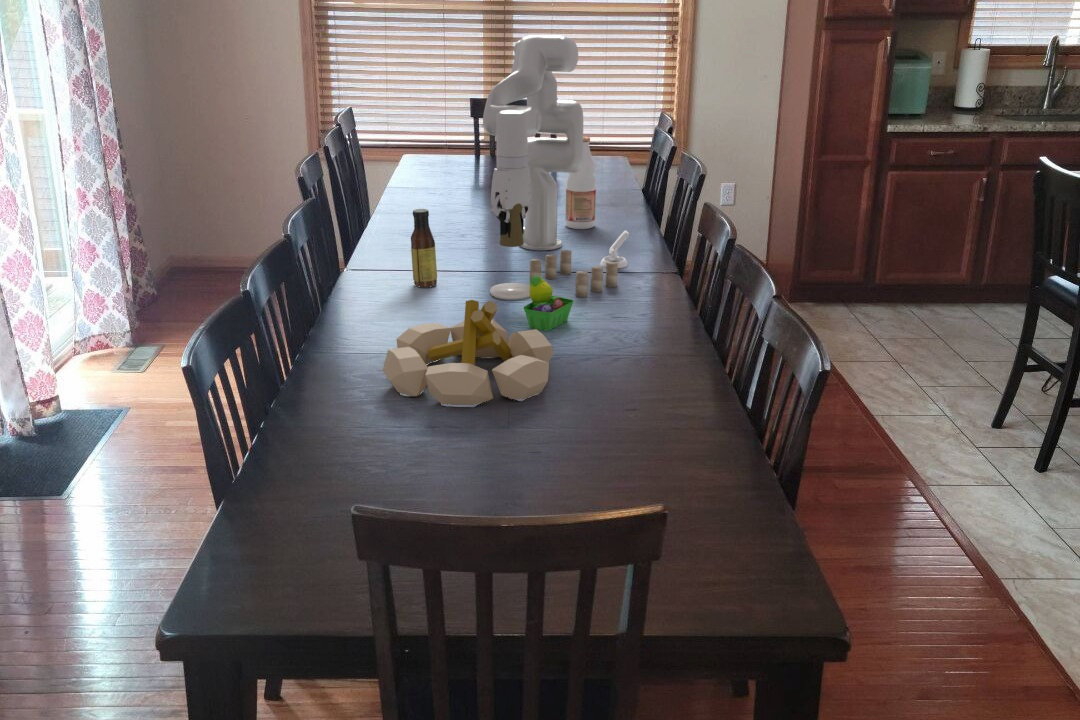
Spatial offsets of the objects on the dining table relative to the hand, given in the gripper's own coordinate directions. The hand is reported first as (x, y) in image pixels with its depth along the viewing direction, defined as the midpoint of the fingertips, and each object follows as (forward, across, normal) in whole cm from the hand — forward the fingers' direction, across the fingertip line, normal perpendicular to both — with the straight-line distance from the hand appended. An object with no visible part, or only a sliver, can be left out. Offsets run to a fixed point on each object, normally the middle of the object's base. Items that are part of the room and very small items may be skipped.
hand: (511, 234), depth 262 cm
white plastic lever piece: (+16, -39, +2) cm, 42 cm away
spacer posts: (+15, -17, +6) cm, 24 cm away
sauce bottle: (+16, +11, -21) cm, 28 cm away
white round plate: (+15, 0, 0) cm, 15 cm away
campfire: (+16, +46, +33) cm, 59 cm away
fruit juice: (+15, -65, -33) cm, 75 cm away
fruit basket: (+16, +11, +22) cm, 29 cm away
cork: (+2, 0, 0) cm, 2 cm away
